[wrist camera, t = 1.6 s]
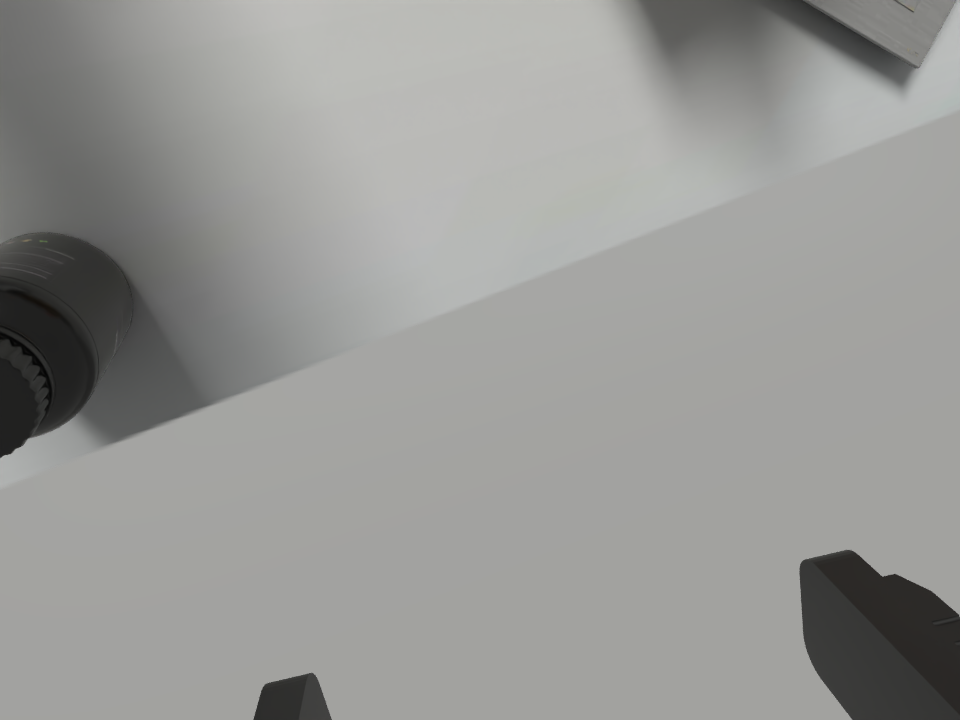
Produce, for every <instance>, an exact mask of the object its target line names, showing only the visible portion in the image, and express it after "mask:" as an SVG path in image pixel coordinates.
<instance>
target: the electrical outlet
mask: <svg viewBox="0 0 960 720" xmlns="http://www.w3.org/2000/svg"><path fill="white" fill-rule="evenodd" d="M803 1H804V2H806V3H808V4H809V5H811V6H813V7H814V8H816V9H818V10H819V11H821V12H823V13H824V14H826V15H828V16H829V17H831V18H833V19H834V20H836V21H838V22H839V23H841V24H843V25H844V26H846V27H848V28H849V29H851V30H853V31H854V32H856V33H858V34H859V35H861V36H862V37H864V38H866V39H867V40H869V41H871V42H872V43H874V44H876V45H877V46H879V47H881V48H882V49H884V50H886V51H887V52H889V53H891V54H892V55H894V56H896V57H897V58H899V59H901V60H902V61H904V62H906V63H907V64H909V65H911V66H912V67H914V68H919V67H920V65H921V64H922V62H923V60H924V58H925V56H926V54H927V53H928V51H929V49H930V47H931V45H932V43H933V42H934V40H935V38H936V36H937V34H938V32H939V31H940V29H941V27H942V25H943V23H944V21H945V20H946V18H947V16H948V14H949V12H950V10H951V9H952V7H953V5H954V3H955V1H956V0H803Z"/></svg>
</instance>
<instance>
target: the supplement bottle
mask: <svg viewBox="0 0 960 720" xmlns="http://www.w3.org/2000/svg"><path fill="white" fill-rule="evenodd" d="M132 313H133V302H132V295H131V291H130V288H129V285H128V283H127V281H126V279H125V277H124V275H123V274H122V272H121V271H120V269H119V268H118V267H117V265H116V264H115V263H114V262H113V261H112V260H111V259H110V258H109V257H108V256H107V255H105V254H104V253H103V252H102V251H100V250H99V249H97V248H96V247H94V246H92V245H91V244H89V243H87V242H85V241H82V240H80V239H77V238H74V237H71V236H67V235H63V234H57V233H31V234H26V235H22V236H18V237H15V238H13V239H10V240H8V241H6V242H4V243H2V244H0V458H1V457H2V456H3V455H9V454H11V453H13V452H14V450H15V449H16V448H19V447H21V446H23V445H24V443H25V442H26V441H27V439H28V438H32V437H36V436H40V435H43V434H46V433H48V432H51V431H53V430H55V429H57V428H59V427H60V426H62V425H63V424H65V423H67V422H68V421H69V420H71V419H72V418H73V417H74V416H75V415H76V414H77V413H78V412H79V411H80V410H81V409H82V408H83V406H84V405H85V404H86V402H87V401H88V400H89V398H90V397H91V395H92V393H93V392H94V390H95V388H96V386H97V385H98V383H99V381H100V379H101V378H102V376H103V374H104V372H105V371H106V369H107V367H108V365H109V364H110V362H111V360H112V358H113V357H114V355H115V353H116V351H117V350H118V348H119V346H120V344H121V343H122V341H123V339H124V337H125V335H126V333H127V331H128V329H129V326H130V323H131V319H132Z"/></svg>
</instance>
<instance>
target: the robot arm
mask: <svg viewBox="0 0 960 720" xmlns="http://www.w3.org/2000/svg"><path fill="white" fill-rule="evenodd" d="M800 587H801V603H802V619H803V634H804V641H805V645H806V649H807V652H808V655H809V657H810V660H811V662H812V664H813V666H814V668H815V670H816V671H817V673H818V675H819V676H820V678H821V679H822V681H823V682H824V683H825V684H826V686H827V687H828V688H829V690H830V691H831V692H832V694H833V695H834V696H835V698H836V699H837V700H838V701H839V703H840V704H841V705H842V707H843V708H844V709H845V711H846V712H847V713H848V714H849V716H850V717H851V718H852V720H960V617H959V615H958V614H957V613H956V612H955V611H954V610H953V609H952V608H950V607H949V606H948V605H947V604H946V603H944V602H943V601H942V600H941V599H940V598H939V597H938V596H936V595H935V594H934V593H933V592H932V591H930V590H928V589H926V588H924V587H921V586H919V585H917V584H915V583H913V582H911V581H909V580H907V579H905V578H903V577H901V576H898V575H896V574H893V575H888V576H884V577H882V576H881V575H880V574H879V573H878V572H876V571H875V570H874V569H873V568H872V567H871V566H870V565H869V564H868V563H866V562H865V561H864V560H863V559H862V558H861V557H860V556H859V555H857V554H856V553H855V552H853V551H851V550H844V551H840V552H836V553H831V554H827V555H823V556H819V557H814V558H810V559H806V560H803V561H802V563H801V564H800ZM254 720H332V719H331V716H330V714H329V710H328V708H327V705H326V702H325V699H324V696H323V693H322V690H321V687H320V684H319V682H318V680H317V677H316V676H315V675H314V674H313V673H309V674H305V675H301V676H296V677H292V678H288V679H284V680H279V681H275V682H271V683H268V684H265V686H264V687H263V689H262V691H261V695H260V698H259V702H258V705H257V709H256V712H255V716H254Z"/></svg>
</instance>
